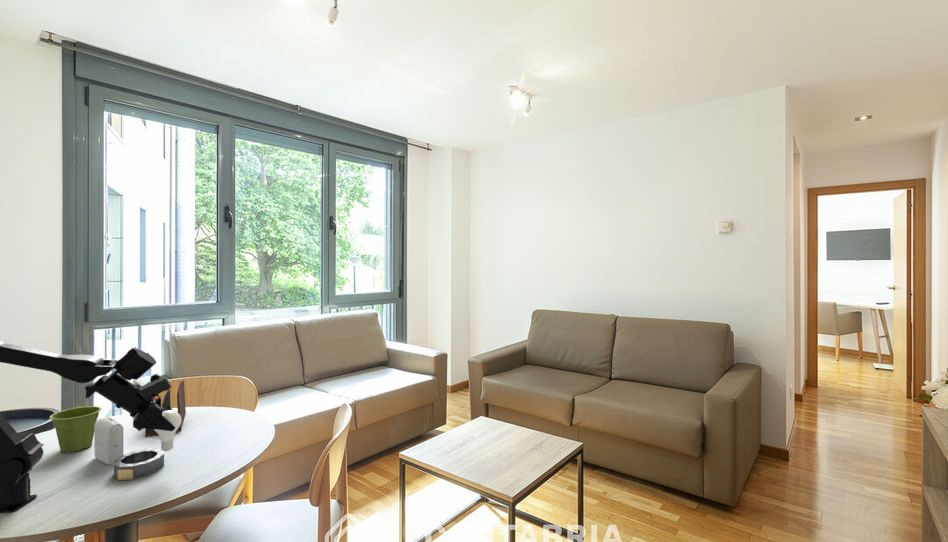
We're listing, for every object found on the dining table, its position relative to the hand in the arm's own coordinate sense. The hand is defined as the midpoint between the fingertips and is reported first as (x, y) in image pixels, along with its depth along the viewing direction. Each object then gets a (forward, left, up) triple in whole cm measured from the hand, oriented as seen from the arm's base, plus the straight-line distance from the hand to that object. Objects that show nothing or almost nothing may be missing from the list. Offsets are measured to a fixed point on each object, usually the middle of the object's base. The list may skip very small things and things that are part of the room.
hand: (173, 425), depth 120 cm
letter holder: (+38, +21, -13) cm, 45 cm away
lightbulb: (-1, +1, -7) cm, 7 cm away
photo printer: (+11, +23, -13) cm, 29 cm away
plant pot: (+21, +38, -13) cm, 45 cm away
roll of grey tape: (+3, +10, -13) cm, 17 cm away
